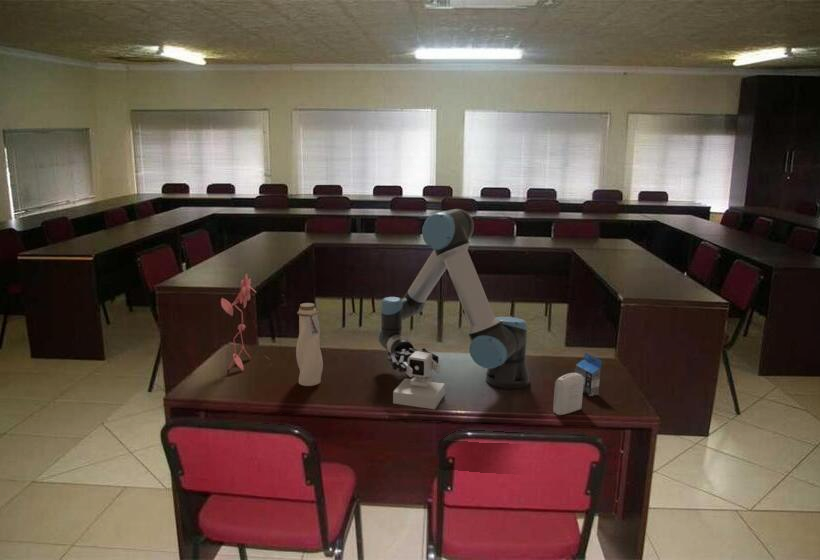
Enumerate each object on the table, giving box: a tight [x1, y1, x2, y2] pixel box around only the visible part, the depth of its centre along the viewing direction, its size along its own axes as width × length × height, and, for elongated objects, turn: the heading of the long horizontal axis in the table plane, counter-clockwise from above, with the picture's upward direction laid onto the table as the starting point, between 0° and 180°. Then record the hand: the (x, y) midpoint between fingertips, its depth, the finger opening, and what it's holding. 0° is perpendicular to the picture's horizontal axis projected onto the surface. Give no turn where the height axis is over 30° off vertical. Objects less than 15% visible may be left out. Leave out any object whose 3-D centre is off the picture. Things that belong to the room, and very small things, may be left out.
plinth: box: [392, 378, 446, 410], centre depth 202 cm, size 14×12×4 cm
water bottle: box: [295, 302, 324, 387], centre depth 212 cm, size 10×9×28 cm
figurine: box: [220, 272, 272, 376], centre depth 226 cm, size 15×26×35 cm, turn 178°
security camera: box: [407, 350, 433, 387], centre depth 200 cm, size 6×7×10 cm
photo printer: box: [552, 372, 584, 416], centre depth 193 cm, size 10×4×12 cm, turn 123°
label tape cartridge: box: [574, 352, 603, 397], centre depth 208 cm, size 9×4×12 cm, turn 23°
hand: (425, 371), depth 195 cm, fingers closed on security camera, 9 cm apart
